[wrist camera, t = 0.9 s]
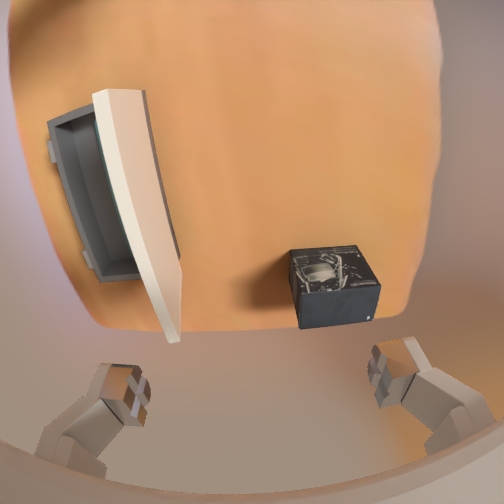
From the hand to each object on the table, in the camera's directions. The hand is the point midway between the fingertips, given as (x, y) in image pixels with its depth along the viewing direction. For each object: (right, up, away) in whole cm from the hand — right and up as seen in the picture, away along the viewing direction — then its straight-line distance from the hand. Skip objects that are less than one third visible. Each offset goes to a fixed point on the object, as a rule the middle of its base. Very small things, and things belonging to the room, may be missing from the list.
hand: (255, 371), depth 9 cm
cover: (-11, +8, +17) cm, 22 cm away
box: (+11, +2, +35) cm, 36 cm away
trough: (-18, +13, +27) cm, 35 cm away
